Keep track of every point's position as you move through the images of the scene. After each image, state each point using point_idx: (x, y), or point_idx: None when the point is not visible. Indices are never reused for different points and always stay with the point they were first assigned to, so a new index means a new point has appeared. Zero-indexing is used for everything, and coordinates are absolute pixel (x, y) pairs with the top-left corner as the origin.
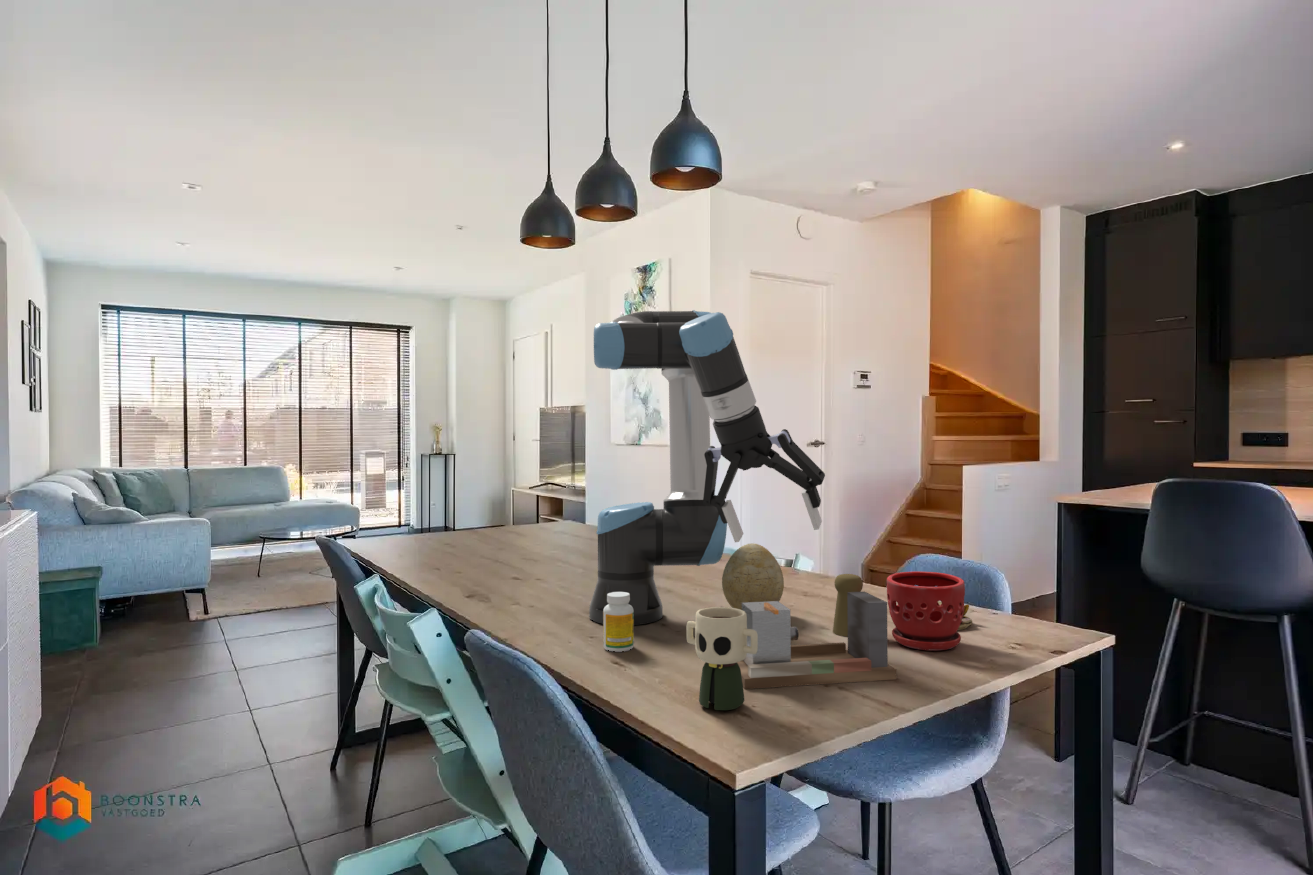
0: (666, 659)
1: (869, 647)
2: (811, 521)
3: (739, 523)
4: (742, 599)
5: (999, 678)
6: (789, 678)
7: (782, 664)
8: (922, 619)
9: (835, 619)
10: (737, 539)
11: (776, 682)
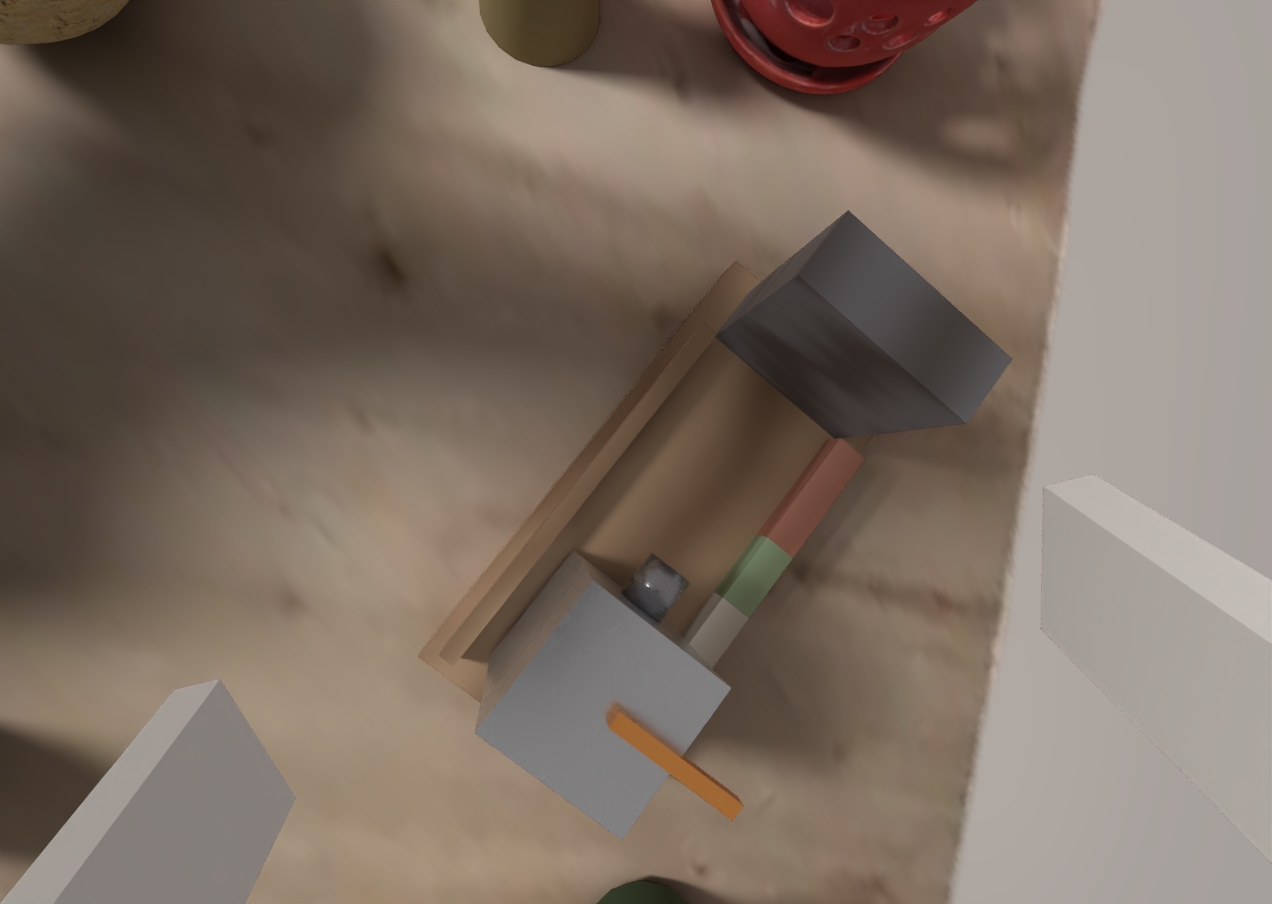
0: None
1: (866, 434)
2: (1109, 694)
3: (139, 793)
4: (16, 35)
5: (1066, 221)
6: None
7: None
8: (899, 48)
9: (504, 7)
10: (277, 824)
11: None
